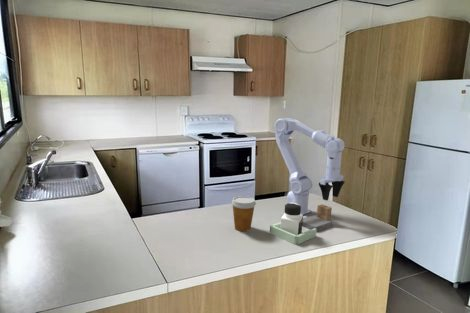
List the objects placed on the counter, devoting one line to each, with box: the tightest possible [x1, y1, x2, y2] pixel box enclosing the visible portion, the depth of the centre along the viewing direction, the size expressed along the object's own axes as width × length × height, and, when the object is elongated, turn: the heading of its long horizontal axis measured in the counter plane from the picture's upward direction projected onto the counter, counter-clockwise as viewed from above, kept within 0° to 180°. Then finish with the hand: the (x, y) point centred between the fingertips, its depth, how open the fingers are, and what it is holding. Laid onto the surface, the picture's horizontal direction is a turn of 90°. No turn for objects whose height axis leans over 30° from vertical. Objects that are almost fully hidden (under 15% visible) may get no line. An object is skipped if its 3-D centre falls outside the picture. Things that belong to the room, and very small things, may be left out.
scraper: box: [302, 203, 333, 232], centre depth 134 cm, size 9×12×7 cm
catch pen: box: [269, 221, 318, 246], centre depth 124 cm, size 13×12×3 cm
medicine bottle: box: [280, 203, 304, 236], centre depth 124 cm, size 7×7×12 cm
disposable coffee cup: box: [231, 195, 257, 232], centre depth 128 cm, size 10×10×12 cm
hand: (330, 198), depth 139 cm, fingers open, 7 cm apart
